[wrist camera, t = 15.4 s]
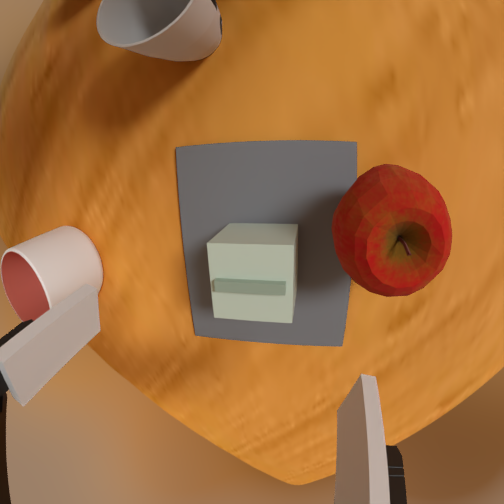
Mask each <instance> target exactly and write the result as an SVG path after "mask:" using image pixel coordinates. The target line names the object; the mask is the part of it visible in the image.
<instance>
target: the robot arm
mask: <svg viewBox="0 0 504 504" xmlns="http://www.w3.org/2000/svg"><path fill="white" fill-rule="evenodd" d="M100 331H101V330H100V320H99V307H98V292H97V288H95V287H93V286H91V285H89V284H87V283H86V284H85V285H83V286H82V287H81V288H79V289H78V290H76V291H75V292H73V293H72V294H71V295H69V296H68V297H66V298H65V299H63V300H62V301H61V302H59V303H58V304H56V305H55V306H54V307H52V308H51V309H50V310H48V311H47V312H45V313H44V314H43V315H41V316H40V317H39V318H37V319H36V320H35V321H33V320H32V319H30V320H27V321H25V322H22V323H20V324H19V325H18V326H16V327H15V329H14V330H13V329H12V330H11V331H10V332H9V333H8V334H6V335H5V336H3V337H2V338H1V339H0V504H11V500H10V494H9V485H8V475H7V462H6V406H7V394H6V391H8V390H10V392H11V394H12V396H13V398H14V399H16V400H17V401H18V402H19V403H20V404H21V405H22V406H25V405H26V404H27V402H29V401H30V399H31V398H32V397H33V396H34V395H35V394H36V393H37V392H38V391H39V390H40V389H41V388H42V387H43V386H44V385H45V384H46V383H47V382H48V381H49V380H50V379H51V378H52V377H53V376H54V375H55V374H56V373H57V372H58V371H59V370H60V369H61V368H62V367H63V366H64V365H65V364H66V363H67V362H68V361H69V360H70V359H71V358H72V357H73V356H74V355H75V354H76V353H77V352H79V351H80V349H82V347H84V346H85V345H86V344H87V343H88V342H89V341H90V340H91V339H92V338H93V337H94V336H95V335H96V334H97V333H98V332H100ZM334 498H335V499H334V504H407V500H406V489H405V478H404V469H403V461H402V455H401V453H400V452H399V450H398V448H397V446H388V445H386V444H385V436H384V428H383V420H382V413H381V406H380V400H379V393H378V387H377V381H376V377H374V376H369V375H364V374H361V375H360V376H359V378H358V380H357V381H356V383H355V384H354V386H353V388H352V389H351V391H350V392H349V394H348V395H347V397H346V398H345V400H344V401H343V403H342V404H341V406H340V407H339V409H338V410H337V460H336V482H335V497H334Z"/></svg>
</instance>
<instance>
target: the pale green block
mask: <svg viewBox="0 0 504 504" xmlns="http://www.w3.org/2000/svg"><path fill="white" fill-rule="evenodd" d="M207 251H208V262H209V273H210V283H211V293H212V303H213V312H214V318H225V319H236V320H249V321H262V322H278V323H292V321H293V314H294V307H295V300H296V293H297V273H298V224H266V223H229V224H228V225H227V226H226V227H225V228H224V229H222V230H221V231H220V232H219V233H218V234H217V235H216V236H214V237H213V238H212V239H211V240H210V241H209V242H208V243H207Z"/></svg>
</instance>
